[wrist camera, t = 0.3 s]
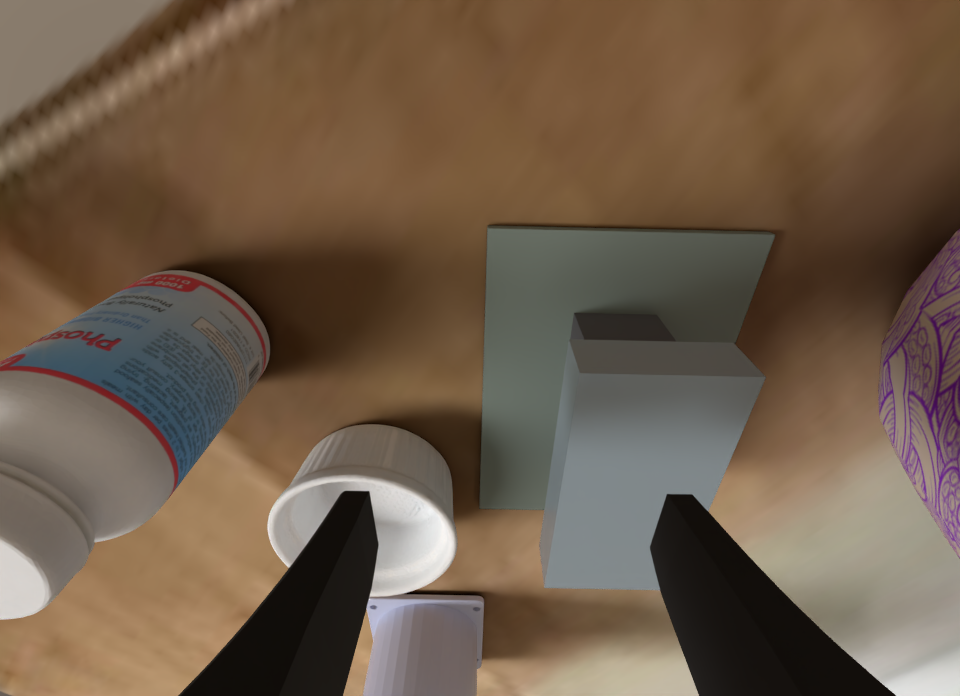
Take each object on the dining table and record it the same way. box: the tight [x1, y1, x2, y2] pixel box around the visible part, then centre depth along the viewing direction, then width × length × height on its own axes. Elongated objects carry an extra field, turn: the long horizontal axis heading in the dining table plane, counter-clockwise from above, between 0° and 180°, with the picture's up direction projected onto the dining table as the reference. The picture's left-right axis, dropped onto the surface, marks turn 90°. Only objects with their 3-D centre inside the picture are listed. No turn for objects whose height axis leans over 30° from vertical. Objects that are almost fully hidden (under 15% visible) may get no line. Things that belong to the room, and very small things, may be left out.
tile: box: [539, 339, 766, 590], centre depth 17 cm, size 11×6×2 cm, turn 179°
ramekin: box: [268, 424, 457, 597], centre depth 23 cm, size 9×9×4 cm
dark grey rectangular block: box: [570, 313, 677, 342], centre depth 19 cm, size 9×4×4 cm, turn 179°
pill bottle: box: [0, 270, 270, 619], centre depth 15 cm, size 6×6×11 cm
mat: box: [479, 226, 775, 510], centre depth 21 cm, size 16×11×1 cm
